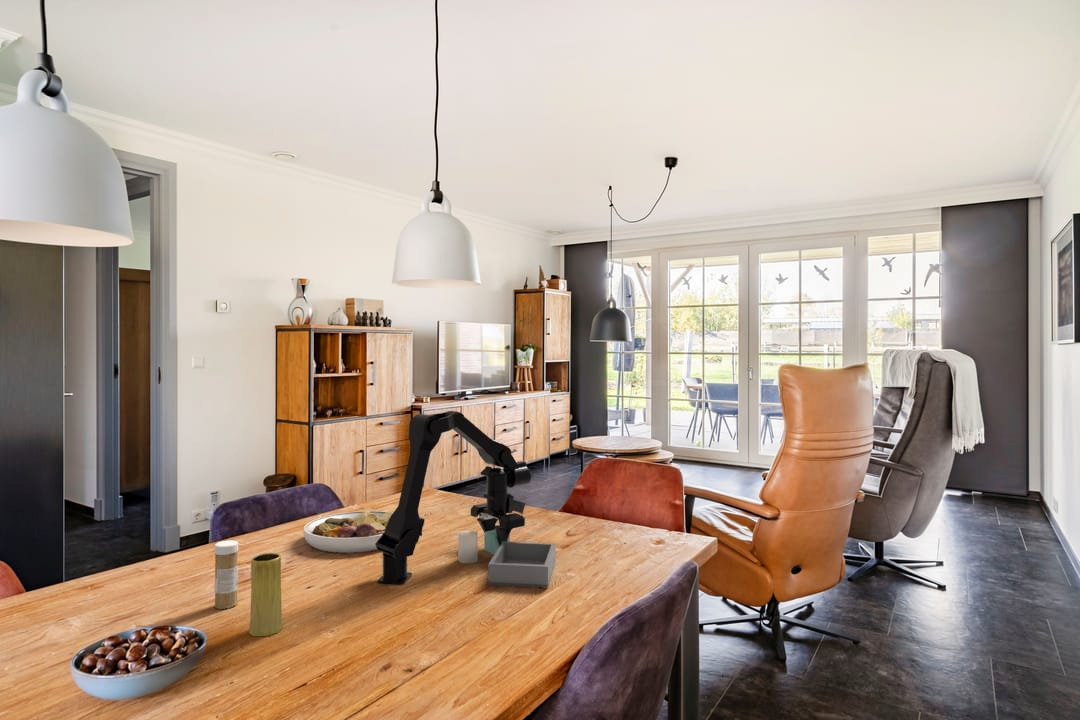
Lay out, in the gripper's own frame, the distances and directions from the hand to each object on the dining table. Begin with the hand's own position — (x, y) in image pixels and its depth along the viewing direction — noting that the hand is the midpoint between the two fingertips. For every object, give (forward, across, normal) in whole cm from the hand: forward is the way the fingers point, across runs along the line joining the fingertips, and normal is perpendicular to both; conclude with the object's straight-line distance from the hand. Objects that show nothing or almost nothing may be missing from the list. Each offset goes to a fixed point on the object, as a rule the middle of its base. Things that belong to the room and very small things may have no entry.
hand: (496, 546), depth 171 cm
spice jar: (+1, +4, +67) cm, 67 cm away
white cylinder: (+1, -2, +11) cm, 11 cm away
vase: (+1, -14, +64) cm, 65 cm away
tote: (+1, -19, +5) cm, 20 cm away
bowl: (+2, +33, +26) cm, 42 cm away
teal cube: (+1, 0, 0) cm, 1 cm away
